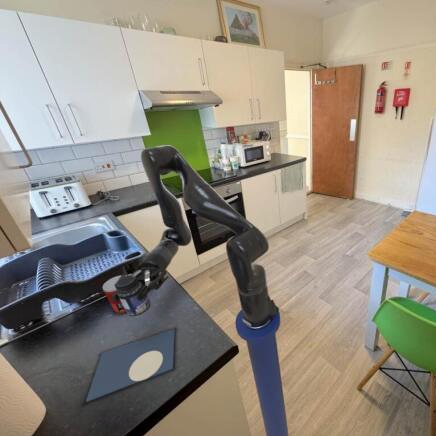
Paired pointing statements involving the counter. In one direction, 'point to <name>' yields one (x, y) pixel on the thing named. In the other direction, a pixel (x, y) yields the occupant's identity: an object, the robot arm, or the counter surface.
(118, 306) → the canned food
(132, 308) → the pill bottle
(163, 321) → the counter surface
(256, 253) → the robot arm
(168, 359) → the placemat
